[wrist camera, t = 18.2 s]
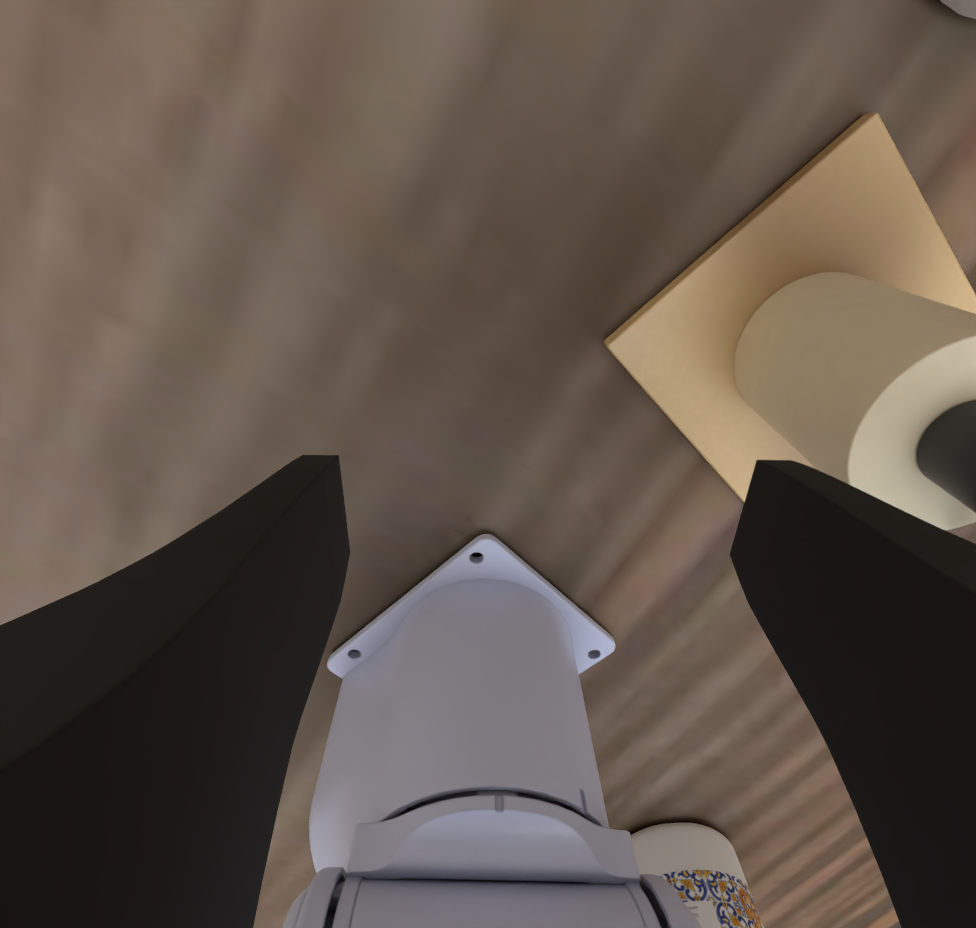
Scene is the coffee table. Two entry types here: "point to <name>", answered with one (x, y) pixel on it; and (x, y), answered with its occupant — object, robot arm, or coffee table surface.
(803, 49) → the coffee table surface
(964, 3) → the beverage can
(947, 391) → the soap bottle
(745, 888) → the bath foam
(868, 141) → the coaster
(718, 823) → the coffee table surface
